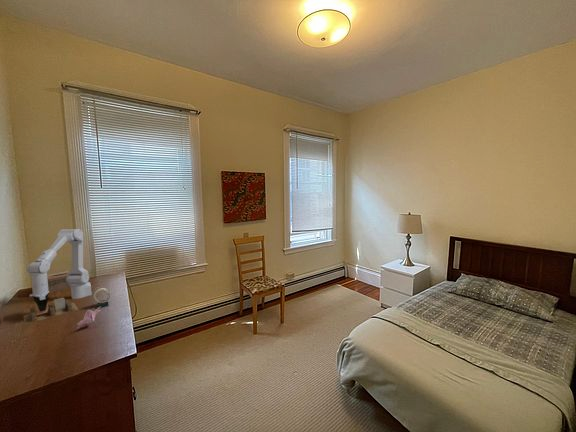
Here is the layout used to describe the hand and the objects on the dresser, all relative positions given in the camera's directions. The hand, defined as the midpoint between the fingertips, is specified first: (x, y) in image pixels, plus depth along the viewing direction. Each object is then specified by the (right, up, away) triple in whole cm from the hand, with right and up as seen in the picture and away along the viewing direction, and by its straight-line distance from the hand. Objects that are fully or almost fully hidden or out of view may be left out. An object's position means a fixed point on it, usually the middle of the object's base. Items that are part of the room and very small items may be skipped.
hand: (42, 309), depth 125 cm
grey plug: (+4, -3, +5) cm, 7 cm away
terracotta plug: (0, -2, 0) cm, 2 cm away
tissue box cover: (-29, -2, +40) cm, 50 cm away
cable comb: (+2, -4, +3) cm, 5 cm away
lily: (+34, -5, -10) cm, 36 cm away
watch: (+24, -3, +11) cm, 27 cm away
